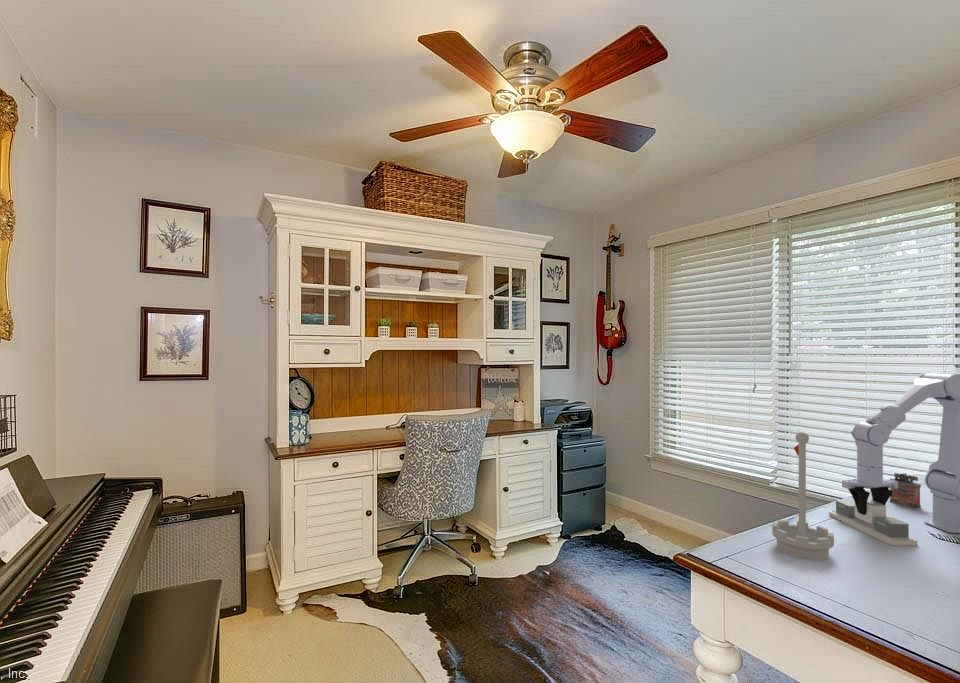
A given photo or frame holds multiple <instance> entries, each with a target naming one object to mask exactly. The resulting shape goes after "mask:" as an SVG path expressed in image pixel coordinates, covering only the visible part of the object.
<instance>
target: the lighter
mask: <svg viewBox="0 0 960 683" xmlns="http://www.w3.org/2000/svg"><path fill="white" fill-rule="evenodd" d="M893 474H894V478H889V480H894V481H897V482H898V489H894V488H889V490H892V491H893V494H892V495H891V496H890V498H889V503H891V504H892V503H893V504H896V505H899V506H903V507H908V508H912V509H915V510H916V509H917V510H918V509H922V505H921V487H922V485H921V484H920V483H917V482H918V481H919V477H918V476H915V475H910V474H908V473H904V472H903V473H899V472H894V473H893ZM915 481H916V482H915Z"/></svg>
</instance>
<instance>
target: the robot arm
mask: <svg viewBox="0 0 960 683" xmlns="http://www.w3.org/2000/svg"><path fill="white" fill-rule="evenodd" d="M929 398H930V399H931V398H932V399H934V400H936V401H937V402H938V403H939V404H940V405H941V406H942V407H943V408H942V415H941V417H942V418H941V427H940V438H939V448H938V457H937V460H936V461H934V462H933V463H931V464H929V467H928V471H927V473H926V474H925V477H924V483H925V486H926V487H927V488H928V489H929V490H930V491H929V492H930V494H932V520H924V522H923V523H924V524H926V525H930V526H932V527H934V528H937V529H940V530H942V531H944V532H947V533H951V534H960V374H958V373H957V374H956V373H955V374H954V373H953V374H949V373H934V372H923V373H921V374H919V376H918V377H917V378H915V379H914V380H913V385H911V387H910V388H909V389H908V390H907V391H906V392H904V394H903V395H902V396H901V397H899V399H898V400H897V401H895V403H893V405H891V404H886V405H881V406H880V407H879V410H878V411H876V412H875V413H874V414H872V416H870V417H868V418H867V420H865V421H861V422H858V423H857V424H855V425H854V427H853V428H852V430H851V431H850V432H851V436H852V438H853V439H854V441H855V446H856V477H855V478H851V479H842V480H841V487H842V488H844V489H847V490H848V491H849V494H850V495H851V497H852V498H853V501H855V504H856V507H857V511H858V513H860V514H863V515H866V511H867V500H868V498H869V496H870V494H871V500H874V501H876V502H879V503H881V504H883V505H885V506H886V504H887V502H888V501H889V500H890V496H891V495H892V494H893V491H892V490H890V488H894V489H898V482H897V481H894V480H890V479H884V445H885V444H887V443H888V441H889V439H890V435H891V434H892V432H893V431H894V430H896V429H897V428H898V426H900V425H901V424H902V423H903V422H905V421H906V420H907V419H906V414H907V413H908V412H911V410H913V409H914V408H915V407H917V406H918V405H920V404H921V403H923V402H924V401H926V400H927V399H929ZM866 489H870V492H869V491H866Z"/></svg>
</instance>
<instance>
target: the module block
mask: <svg viewBox="0 0 960 683" xmlns="http://www.w3.org/2000/svg"><path fill="white" fill-rule="evenodd" d="M855 517H857V518H859V519H861V520H864V521H866V522H868V523H870V524H874V517H887V506H886V504H885V505H883V504H881V503H879V502H876V501H874V500H873V499H872V498H869V497H868V500H867V511H866V515H863V514H860V513H858V511H857V507H856V504H855Z"/></svg>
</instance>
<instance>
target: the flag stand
mask: <svg viewBox="0 0 960 683" xmlns="http://www.w3.org/2000/svg"><path fill="white" fill-rule="evenodd" d="M794 437H795V440H796V442H797V443H798V444H797V445H795V446H794V447H793V449H794V451H795V453H796V455H797V456H798V520H796V524H790V522H789V520H787V519H780V520H777V523H776V522H773V523H772V524H771V525H772V530H771V531H772V532H771V533H772V536H773V537H774V538H775V539H776V547H777V548H778V549H779V550H780V551H781V552H783V553H785V554H786V555H790V556H793V557H796V558H800V559H804V560H812V561H815V560H816V561H819V560H820V561H822V560H821V559H823V560H826V559H828V558H829V557H830V549H832V548H833V547H834V546H835V534H834V533H833V532H829V529H828V528H826V527H824V526H821V525H817V526H816V528H815V527H810V526H809V522H807V516H806V514H807V513H806V510H807V509H806V508H807V506H806V505H807V504H806V503H807V502H806V501H807V499H806V498H807V497H806V496H807V492H806V490H807V487H806V485H807V482H806V481H807V473H806V472H807V461H806V460H807V455H806V454H807V453H806V452H807V451H806V450H807V445H806V444H807V443H808V442H809V441H810V437H809V435H808V434H807V433H806V432H803V431H801V432H798V433H796V434H795V436H794ZM828 556H829V557H828Z"/></svg>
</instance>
